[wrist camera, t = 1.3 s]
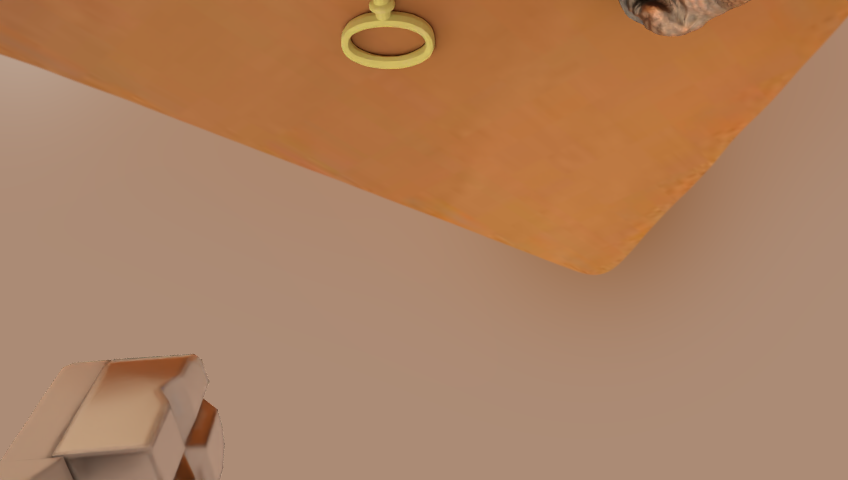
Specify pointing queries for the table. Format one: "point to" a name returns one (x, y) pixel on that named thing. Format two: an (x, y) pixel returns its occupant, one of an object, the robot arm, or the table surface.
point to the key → (386, 17)
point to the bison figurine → (676, 13)
